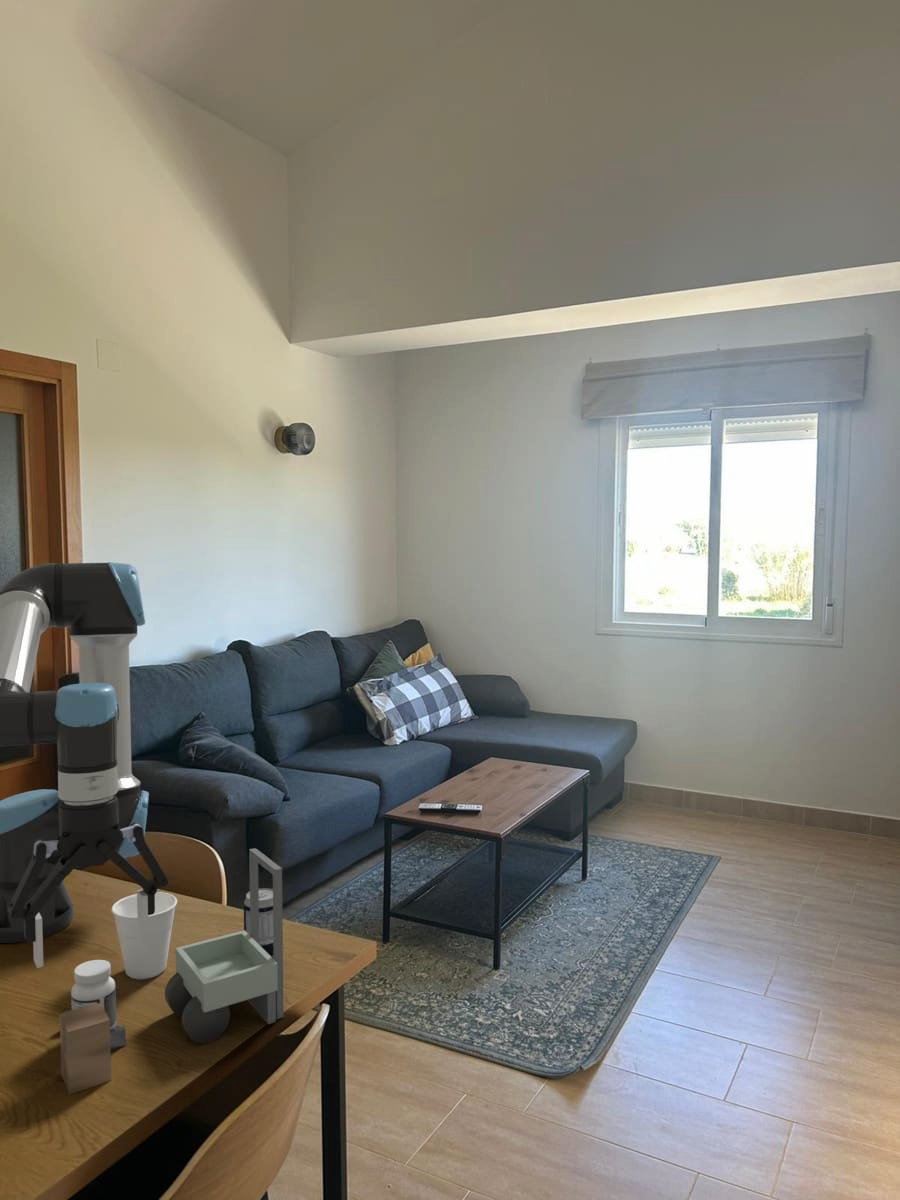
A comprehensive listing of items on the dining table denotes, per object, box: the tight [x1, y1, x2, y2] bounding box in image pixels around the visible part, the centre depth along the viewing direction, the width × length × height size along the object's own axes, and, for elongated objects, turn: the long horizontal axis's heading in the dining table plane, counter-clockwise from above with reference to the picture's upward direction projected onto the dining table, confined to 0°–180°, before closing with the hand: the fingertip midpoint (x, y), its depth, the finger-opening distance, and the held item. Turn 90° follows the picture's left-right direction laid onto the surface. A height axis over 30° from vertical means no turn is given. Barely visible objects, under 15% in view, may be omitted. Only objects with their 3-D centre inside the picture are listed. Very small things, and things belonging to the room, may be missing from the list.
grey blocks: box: [64, 1009, 127, 1051], centre depth 121 cm, size 9×6×2 cm, turn 34°
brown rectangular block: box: [59, 1003, 112, 1095], centre depth 112 cm, size 5×5×8 cm
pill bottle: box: [70, 959, 118, 1029], centre depth 121 cm, size 6×6×10 cm
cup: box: [110, 891, 178, 980], centre depth 140 cm, size 10×10×11 cm
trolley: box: [164, 847, 285, 1044], centre depth 126 cm, size 13×14×22 cm
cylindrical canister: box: [243, 887, 274, 959], centre depth 141 cm, size 6×6×12 cm
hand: (92, 950), depth 120 cm, fingers open, 13 cm apart
